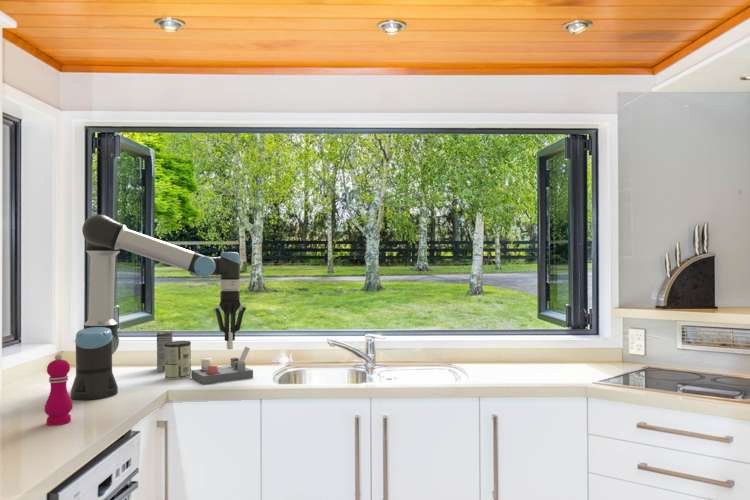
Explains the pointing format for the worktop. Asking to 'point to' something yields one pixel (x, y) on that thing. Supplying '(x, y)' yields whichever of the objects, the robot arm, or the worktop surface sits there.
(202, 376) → the panel
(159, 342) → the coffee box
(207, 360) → the button ivory
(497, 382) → the worktop surface
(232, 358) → the slider knob
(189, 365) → the coffee can
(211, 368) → the button red
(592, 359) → the worktop surface
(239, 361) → the lever
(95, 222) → the robot arm
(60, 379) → the pepper mill
